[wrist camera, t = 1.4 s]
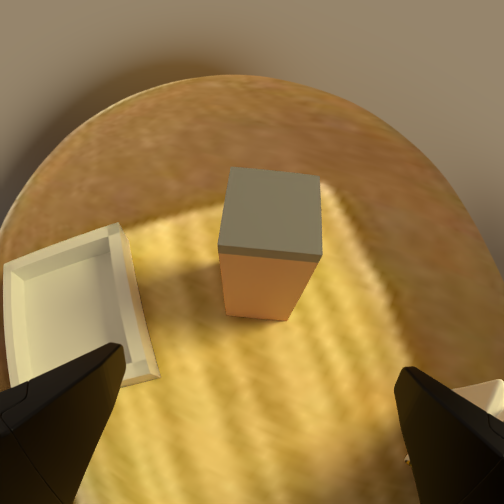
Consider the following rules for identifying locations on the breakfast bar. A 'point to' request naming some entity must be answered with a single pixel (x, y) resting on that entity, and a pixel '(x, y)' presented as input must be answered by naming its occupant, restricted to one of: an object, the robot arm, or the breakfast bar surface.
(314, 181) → the grey-topped orange box
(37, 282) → the tray
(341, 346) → the breakfast bar surface
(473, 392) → the small carton
